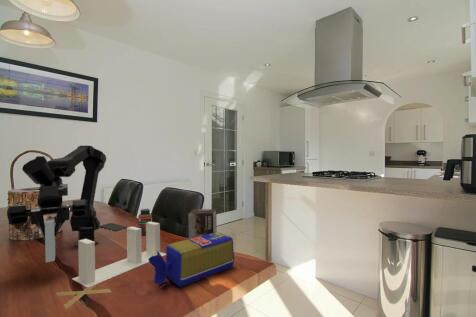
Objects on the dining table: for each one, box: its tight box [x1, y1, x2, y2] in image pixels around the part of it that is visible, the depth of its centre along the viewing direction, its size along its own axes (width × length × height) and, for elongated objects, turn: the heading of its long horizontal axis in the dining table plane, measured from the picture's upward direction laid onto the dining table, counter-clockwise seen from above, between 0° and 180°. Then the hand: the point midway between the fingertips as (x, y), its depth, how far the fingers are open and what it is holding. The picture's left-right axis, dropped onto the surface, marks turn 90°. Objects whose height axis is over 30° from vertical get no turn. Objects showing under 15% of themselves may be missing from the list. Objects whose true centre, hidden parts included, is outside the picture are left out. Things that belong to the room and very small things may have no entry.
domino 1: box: [44, 217, 56, 263], centre depth 71 cm, size 2×5×11 cm, turn 34°
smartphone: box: [99, 222, 129, 232], centre depth 127 cm, size 7×1×15 cm
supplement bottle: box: [137, 208, 153, 236], centre depth 116 cm, size 6×6×11 cm
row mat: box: [71, 250, 166, 288], centre depth 80 cm, size 9×27×1 cm, turn 147°
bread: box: [148, 232, 235, 288], centre depth 75 cm, size 10×25×10 cm, turn 130°
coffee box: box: [187, 208, 218, 239], centre depth 89 cm, size 9×6×16 cm
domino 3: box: [126, 226, 143, 264], centre depth 83 cm, size 2×5×11 cm, turn 57°
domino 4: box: [145, 221, 161, 256], centre depth 89 cm, size 2×5×11 cm, turn 57°
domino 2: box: [77, 239, 96, 284], centre depth 71 cm, size 2×5×11 cm, turn 57°
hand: (50, 236), depth 70 cm, fingers closed on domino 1, 2 cm apart
